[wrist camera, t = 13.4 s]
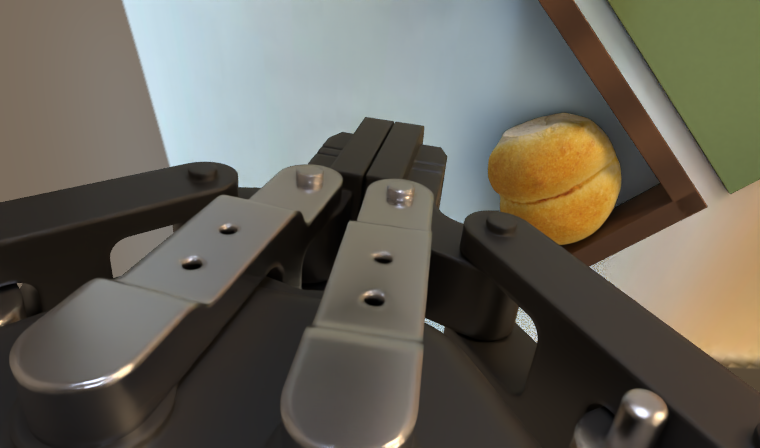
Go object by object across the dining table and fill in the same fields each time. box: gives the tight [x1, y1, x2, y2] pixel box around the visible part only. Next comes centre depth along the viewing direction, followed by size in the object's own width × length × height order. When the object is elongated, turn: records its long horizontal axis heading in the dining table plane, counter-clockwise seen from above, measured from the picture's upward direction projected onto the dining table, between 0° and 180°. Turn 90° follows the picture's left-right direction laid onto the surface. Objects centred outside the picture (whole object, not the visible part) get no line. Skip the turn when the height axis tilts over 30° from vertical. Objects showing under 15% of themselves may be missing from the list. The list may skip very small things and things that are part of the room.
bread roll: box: [488, 113, 622, 245], centre depth 39 cm, size 8×9×4 cm
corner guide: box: [538, 0, 708, 267], centre depth 39 cm, size 18×18×3 cm
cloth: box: [607, 0, 760, 194], centre depth 34 cm, size 16×10×1 cm, turn 40°
